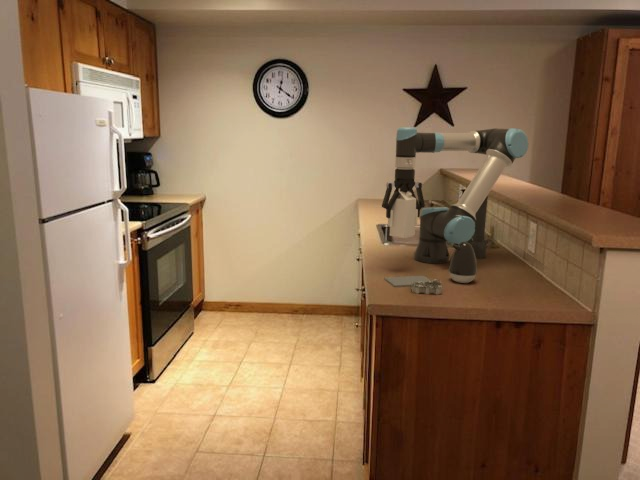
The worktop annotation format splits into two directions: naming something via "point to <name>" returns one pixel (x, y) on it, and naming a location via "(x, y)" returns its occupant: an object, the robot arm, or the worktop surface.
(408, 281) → the mat
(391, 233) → the milk carton
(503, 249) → the worktop surface
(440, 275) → the worktop surface
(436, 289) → the egg carton
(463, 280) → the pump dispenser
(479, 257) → the flashlight
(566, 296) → the worktop surface
